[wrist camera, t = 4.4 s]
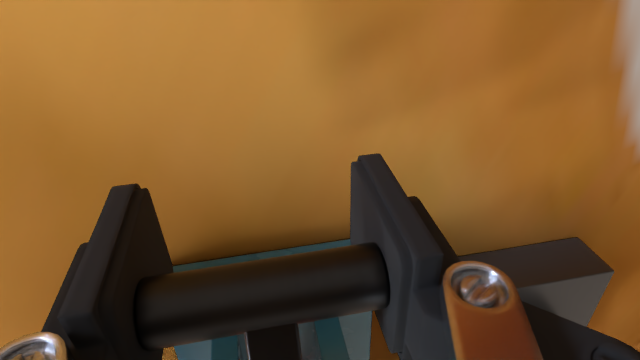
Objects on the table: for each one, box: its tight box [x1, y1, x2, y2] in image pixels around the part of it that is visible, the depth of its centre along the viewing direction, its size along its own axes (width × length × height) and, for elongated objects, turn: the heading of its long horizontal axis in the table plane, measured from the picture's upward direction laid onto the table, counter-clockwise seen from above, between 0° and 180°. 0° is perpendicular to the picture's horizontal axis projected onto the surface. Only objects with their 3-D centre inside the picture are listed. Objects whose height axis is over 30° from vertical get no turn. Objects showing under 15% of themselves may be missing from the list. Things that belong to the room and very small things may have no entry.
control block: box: [399, 237, 614, 360], centre depth 19 cm, size 10×8×4 cm
